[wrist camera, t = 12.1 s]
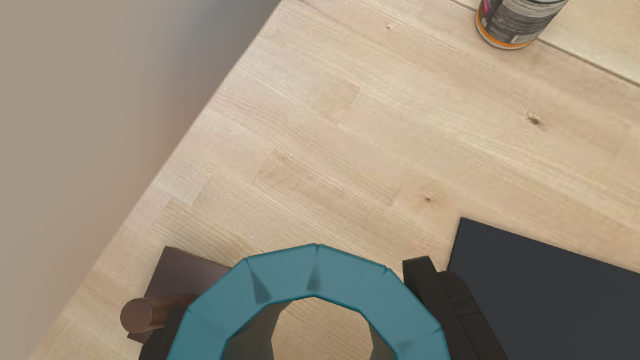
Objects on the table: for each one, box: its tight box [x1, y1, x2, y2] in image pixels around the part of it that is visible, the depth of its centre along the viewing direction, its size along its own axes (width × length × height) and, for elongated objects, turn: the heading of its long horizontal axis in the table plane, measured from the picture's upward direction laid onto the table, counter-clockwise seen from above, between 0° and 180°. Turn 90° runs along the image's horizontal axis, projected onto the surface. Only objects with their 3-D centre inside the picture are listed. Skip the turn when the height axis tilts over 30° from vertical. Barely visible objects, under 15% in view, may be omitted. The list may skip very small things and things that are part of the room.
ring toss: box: [120, 246, 232, 344], centre depth 28 cm, size 7×7×10 cm
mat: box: [447, 217, 640, 360], centre depth 31 cm, size 12×21×1 cm, turn 71°
